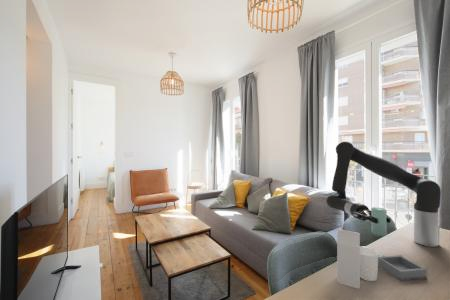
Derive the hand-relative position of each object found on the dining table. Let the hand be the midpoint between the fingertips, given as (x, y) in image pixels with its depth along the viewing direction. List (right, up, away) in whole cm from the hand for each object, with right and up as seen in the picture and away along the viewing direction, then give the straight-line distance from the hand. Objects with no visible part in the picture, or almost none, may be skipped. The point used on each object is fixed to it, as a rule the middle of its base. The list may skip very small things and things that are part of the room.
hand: (383, 220), depth 96 cm
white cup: (-15, -18, -11) cm, 26 cm away
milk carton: (-23, -18, -14) cm, 33 cm away
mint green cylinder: (0, -6, +3) cm, 7 cm away
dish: (+1, -18, -8) cm, 20 cm away
